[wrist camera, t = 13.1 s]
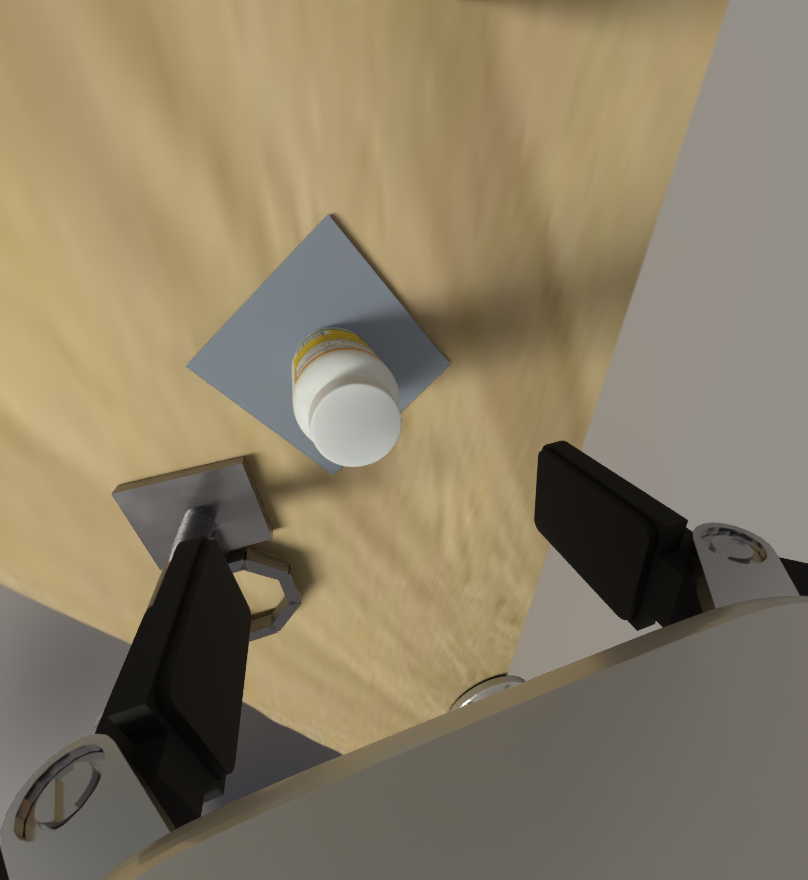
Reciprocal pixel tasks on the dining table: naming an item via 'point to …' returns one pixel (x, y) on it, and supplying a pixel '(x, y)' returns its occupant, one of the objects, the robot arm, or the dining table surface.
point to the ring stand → (209, 526)
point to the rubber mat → (303, 312)
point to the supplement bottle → (345, 398)
